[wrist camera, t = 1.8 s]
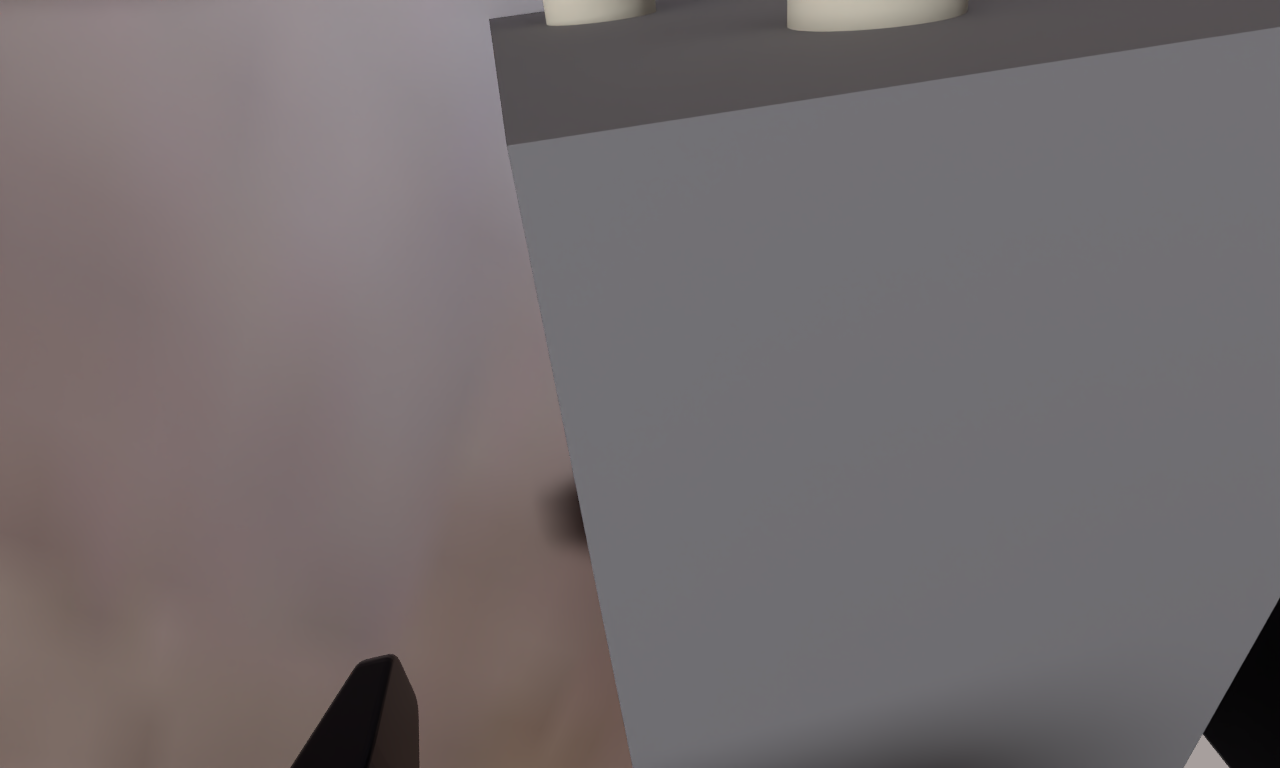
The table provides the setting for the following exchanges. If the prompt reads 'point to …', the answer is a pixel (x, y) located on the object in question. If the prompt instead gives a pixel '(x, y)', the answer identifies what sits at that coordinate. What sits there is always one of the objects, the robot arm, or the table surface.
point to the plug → (912, 366)
